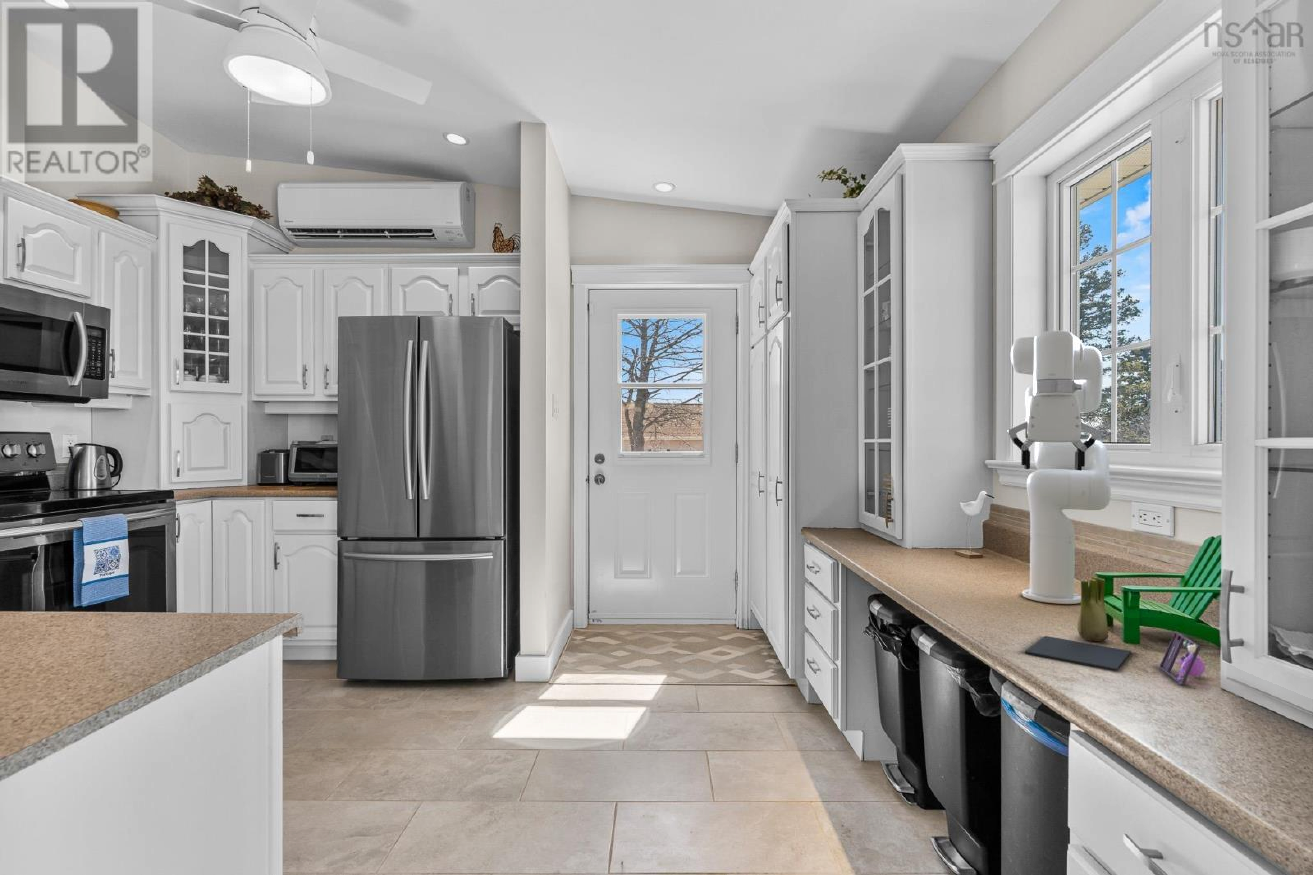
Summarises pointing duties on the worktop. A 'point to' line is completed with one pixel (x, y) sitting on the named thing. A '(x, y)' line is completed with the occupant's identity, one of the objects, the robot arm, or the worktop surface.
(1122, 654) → the mat
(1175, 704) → the worktop surface
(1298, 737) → the worktop surface
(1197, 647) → the purple toy package
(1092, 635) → the fennel bulb
